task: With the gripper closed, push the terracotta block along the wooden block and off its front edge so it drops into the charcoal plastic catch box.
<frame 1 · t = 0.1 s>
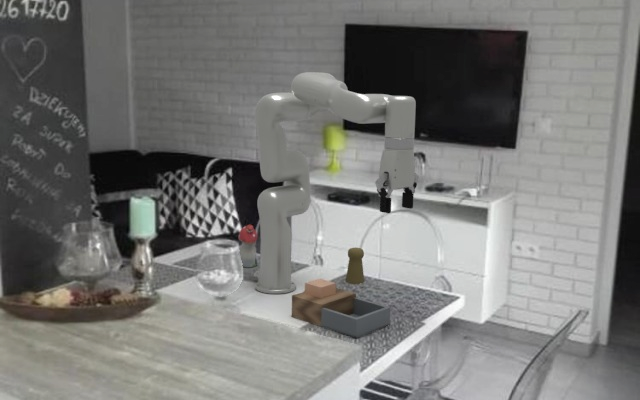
hand: (396, 210, 186), 31 cm above the table, tool pointing down, fingers open, 9 cm apart
catch box: (355, 325, 190), on the table
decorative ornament: (248, 265, 248), on the table
cork: (354, 281, 231), on the table
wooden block: (323, 315, 197), on the table
terracotta block: (320, 293, 197), point 6 cm above the table, touching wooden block
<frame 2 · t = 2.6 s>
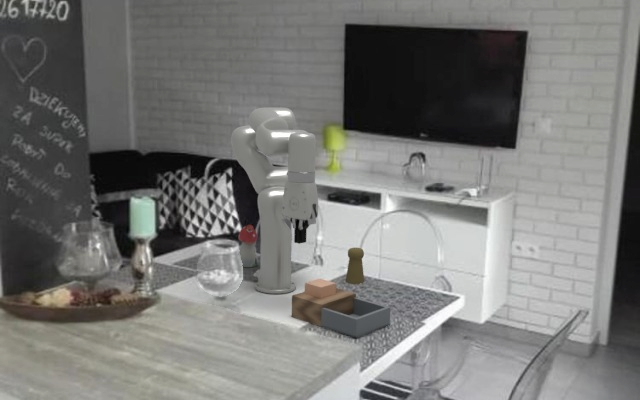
hand: (300, 242, 200), 19 cm above the table, tool pointing down, fingers closed
nothing on the table moved.
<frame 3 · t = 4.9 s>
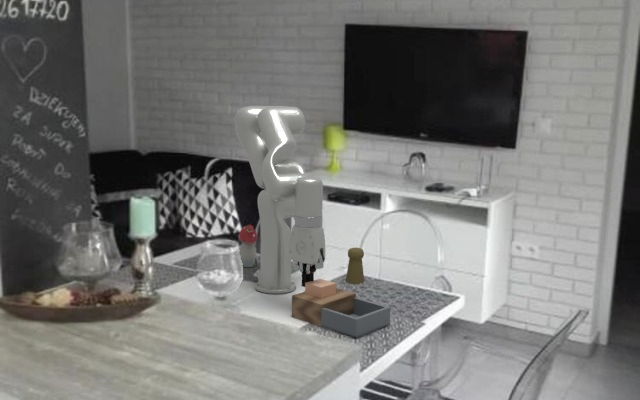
hand: (307, 286, 200), 7 cm above the table, tool pointing down, fingers closed
terracotta block: (320, 293, 197), point 6 cm above the table, touching gripper
everything else where it was.
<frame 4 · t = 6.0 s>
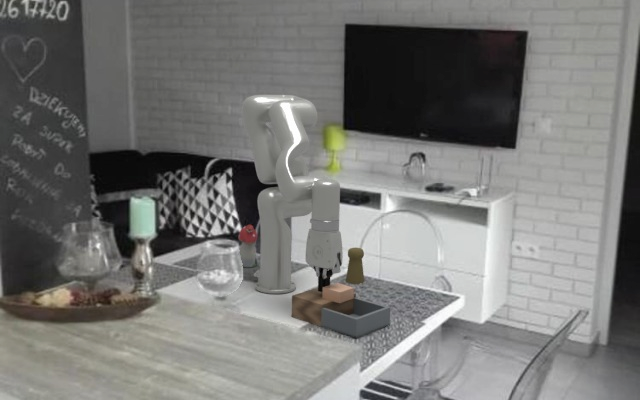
hand: (323, 290, 196), 7 cm above the table, tool pointing down, fingers closed
terracotta block: (337, 298, 193), point 6 cm above the table, touching gripper
everything else where it was.
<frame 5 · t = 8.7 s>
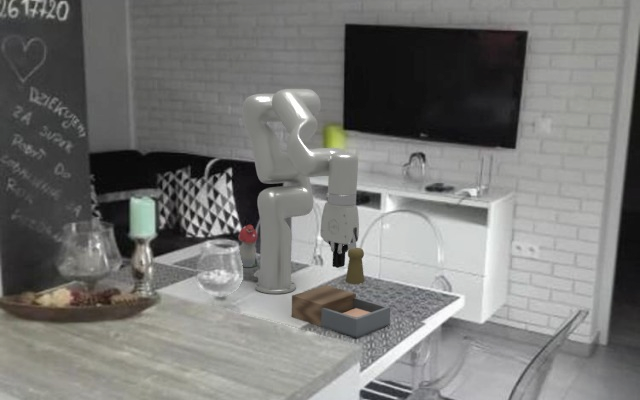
hand: (338, 266, 192), 15 cm above the table, tool pointing down, fingers closed
terracotta block: (358, 313, 189), point 3 cm above the table, tilted 180°, touching catch box
everything else where it was.
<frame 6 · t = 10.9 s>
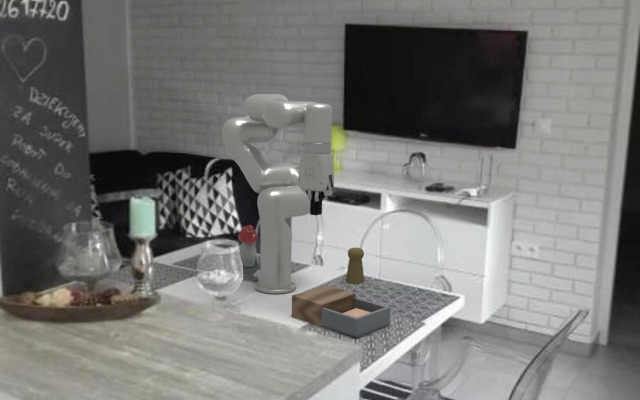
hand: (315, 214, 199), 27 cm above the table, tool pointing down, fingers closed
nothing on the table moved.
at the end: terracotta block inside the target area (0.9 cm from its centre), point 3.5 cm above the table; terracotta block touching catch box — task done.
